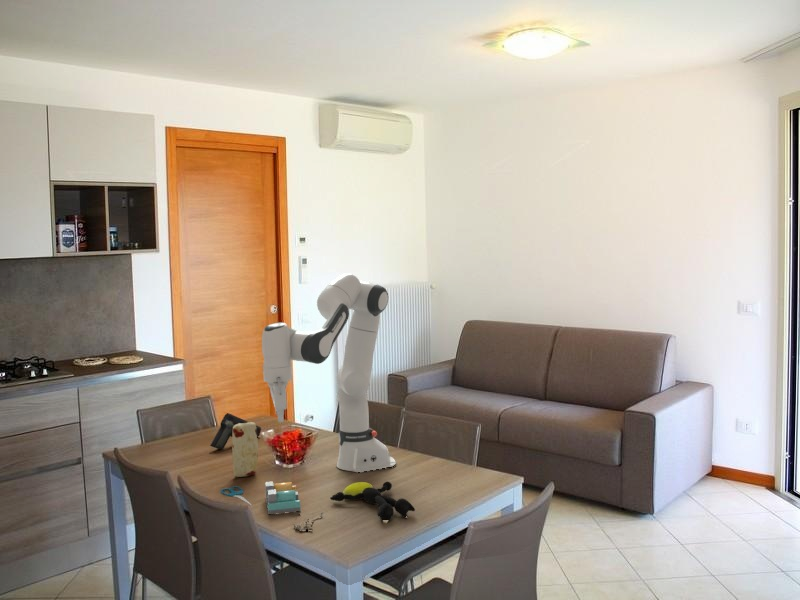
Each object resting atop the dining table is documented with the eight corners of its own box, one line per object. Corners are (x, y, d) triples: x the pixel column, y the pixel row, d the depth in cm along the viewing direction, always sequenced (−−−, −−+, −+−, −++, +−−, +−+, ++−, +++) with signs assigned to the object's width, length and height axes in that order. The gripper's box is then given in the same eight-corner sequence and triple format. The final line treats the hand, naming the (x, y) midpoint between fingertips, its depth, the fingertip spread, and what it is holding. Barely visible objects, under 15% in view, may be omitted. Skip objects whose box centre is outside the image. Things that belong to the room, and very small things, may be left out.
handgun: (251, 460, 311) (261, 427, 317) (214, 446, 293) (225, 411, 298) (247, 459, 313) (257, 426, 318) (209, 445, 294) (221, 411, 299)
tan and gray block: (291, 493, 238) (291, 479, 238) (292, 497, 234) (292, 483, 233) (265, 495, 236) (265, 482, 236) (266, 500, 232) (265, 486, 231)
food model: (237, 480, 257) (235, 426, 255) (229, 476, 262) (227, 422, 260) (261, 475, 262) (260, 421, 261) (254, 470, 268) (252, 418, 266)
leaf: (299, 537, 207) (299, 530, 207) (283, 519, 220) (282, 513, 220) (335, 529, 212) (335, 522, 212) (317, 512, 225) (317, 506, 225)
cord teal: (294, 501, 230) (294, 487, 230) (296, 506, 226) (295, 491, 226) (268, 504, 228) (267, 490, 228) (268, 508, 224) (268, 494, 224)
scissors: (237, 485, 249) (261, 502, 233) (237, 488, 250) (262, 505, 233) (219, 489, 246) (242, 507, 229) (219, 492, 246) (242, 509, 229)
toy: (435, 510, 224) (381, 489, 248) (434, 492, 224) (381, 472, 248) (374, 529, 210) (323, 505, 235) (373, 509, 210) (323, 487, 234)
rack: (296, 495, 240) (295, 485, 239) (300, 511, 225) (300, 501, 225) (266, 498, 237) (265, 488, 237) (268, 515, 223) (268, 504, 222)
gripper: (290, 379, 214) (292, 424, 216) (285, 368, 234) (287, 410, 235) (269, 381, 213) (271, 426, 214) (265, 370, 233) (267, 411, 234)
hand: (279, 418), depth 225 cm, fingers open, 8 cm apart
